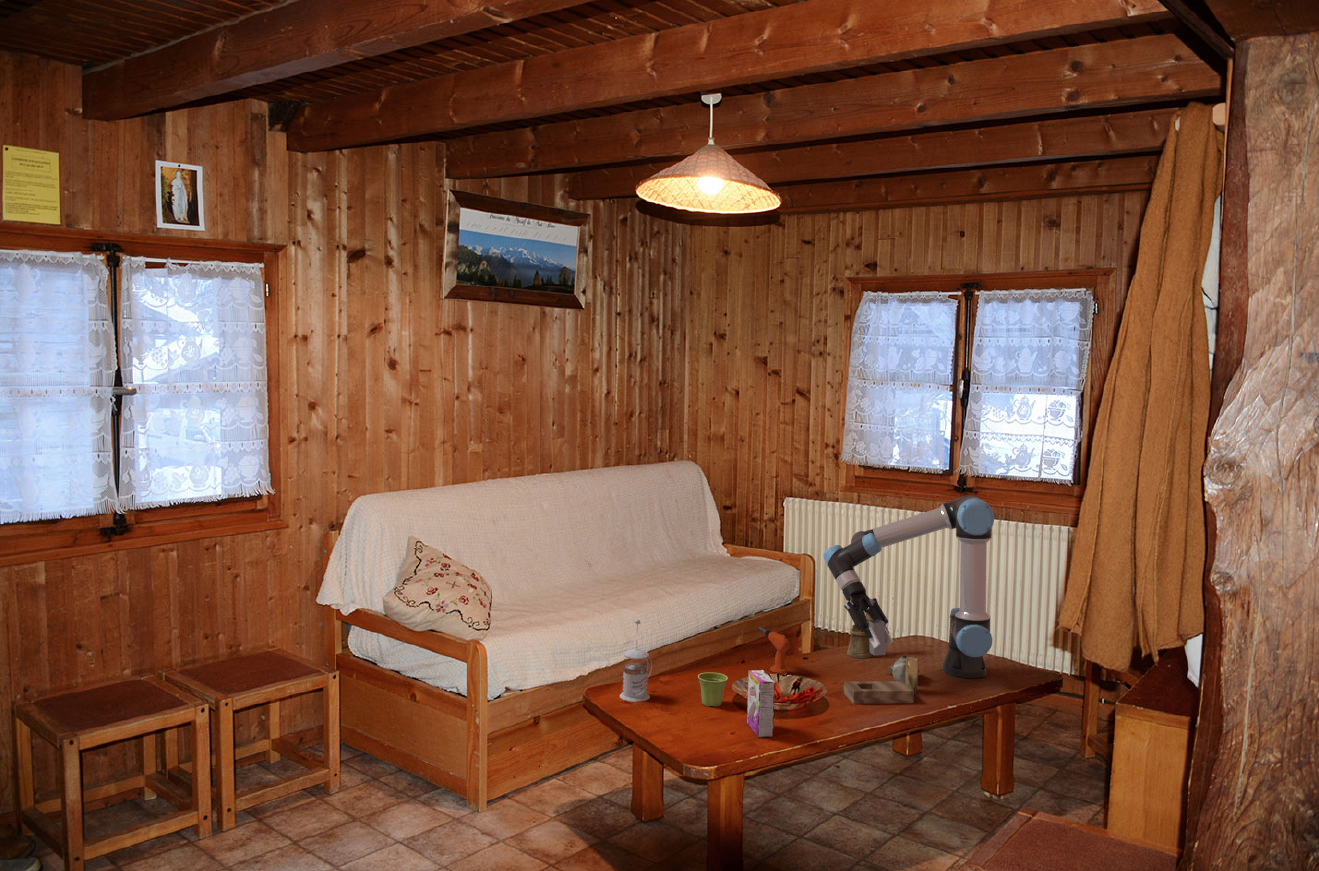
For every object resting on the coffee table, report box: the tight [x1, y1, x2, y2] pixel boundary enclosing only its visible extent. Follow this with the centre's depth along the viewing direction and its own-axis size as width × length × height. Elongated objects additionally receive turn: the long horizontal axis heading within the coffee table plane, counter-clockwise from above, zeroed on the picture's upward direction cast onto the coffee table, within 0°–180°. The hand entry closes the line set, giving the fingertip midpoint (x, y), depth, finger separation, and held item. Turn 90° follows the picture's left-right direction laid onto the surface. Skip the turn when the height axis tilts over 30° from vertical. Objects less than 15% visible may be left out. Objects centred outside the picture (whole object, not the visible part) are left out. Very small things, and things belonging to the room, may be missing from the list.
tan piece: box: [846, 613, 873, 659], centre depth 364 cm, size 9×14×18 cm, turn 125°
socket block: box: [843, 680, 915, 705], centre depth 315 cm, size 20×10×4 cm, turn 97°
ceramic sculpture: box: [887, 655, 920, 683], centre depth 336 cm, size 11×9×15 cm
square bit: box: [869, 619, 886, 657], centre depth 324 cm, size 4×4×11 cm
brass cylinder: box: [905, 656, 919, 694], centre depth 323 cm, size 4×4×11 cm
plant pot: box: [697, 671, 729, 707], centre depth 304 cm, size 9×9×9 cm
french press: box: [619, 619, 653, 703], centre depth 308 cm, size 10×12×25 cm
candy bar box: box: [746, 669, 776, 738], centre depth 282 cm, size 11×5×16 cm, turn 12°
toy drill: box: [758, 626, 791, 673], centre depth 342 cm, size 5×18×14 cm, turn 28°
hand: (883, 644), depth 321 cm, fingers closed on square bit, 5 cm apart
